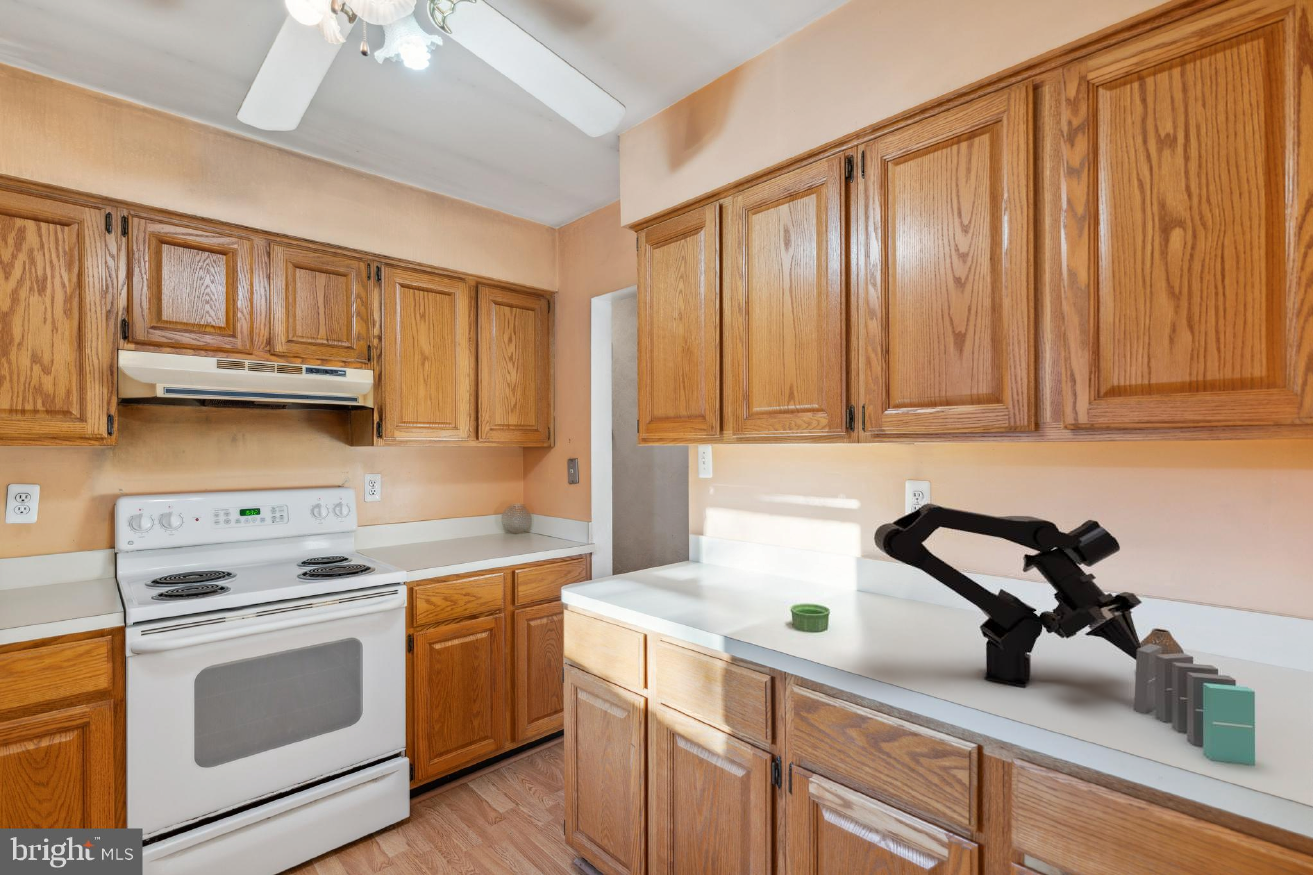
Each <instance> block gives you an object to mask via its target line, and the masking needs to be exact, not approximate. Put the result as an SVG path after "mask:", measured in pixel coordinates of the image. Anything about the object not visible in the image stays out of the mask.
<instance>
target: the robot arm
mask: <svg viewBox="0 0 1313 875" xmlns="http://www.w3.org/2000/svg"><path fill="white" fill-rule="evenodd" d="M940 528H945V529H951V530H956V531H962V532H966V533H971V534H972V533H973V534H978V535H983V536H988V537H993V538H998V539H1002V540H1006V541H1009V542H1011V543H1014V544H1018V545H1020V546H1023V547H1026V548H1028V549H1031V550H1033V551H1037V553H1034V554H1028V553H1026V554H1025V553H1024V555H1023V557H1022V558H1023V559H1022V560H1023V567H1022V572H1024V573H1028V572H1029V571H1031V570H1032V569H1036V570H1037V571H1038V572H1039V573H1040V574H1041V575H1042V577H1043V578H1044V579H1045V580H1046V582H1048V583H1049V584H1050V585H1051V586H1052V588H1053V589H1054V590H1055V591H1056V592H1055V593H1054V594H1053V596H1054V599H1055V600H1056V602H1057V603H1058V604H1057V605H1056V607H1055V608H1053V609H1052V611H1048V610H1045V611H1041V613H1040V614H1039V615H1038V614H1037V613H1036V611H1037V608H1035V607H1033V606H1031V605H1029V604H1027V603H1026V602H1024V601H1022V600H1021V599H1020V598H1019V597H1017V596H1016V595H1013V594H1012V593H1010V592H1008V591H1007V590H1005V589H1002V588H1000V589H999V591H998V594H997V593H994V592H992V591H989V589H987V588H985V587H984V586H982V585H980V584H979V583H978V582H976V581H975V580H973V579H972V578H970V577H968V576H967V575H965V574H964V573H962V572H960V571H959V570H958V569H956V568H955V567H953V566H951V565H950V564H948V563H947V562H945V561H944V560H943V559H941V558H939V557H938V556H936V555H934V554H933V553H932V552H931V551H930V550H929V549H928V548H927V546H926V545H924V544H923V543H924V542H926V540H928V538H929V537H930V536H932V534H933V533H934V532H936V530H938V529H940ZM873 538H874V539H873V540H874V543H875V547H877V548H878V549H879V550H880V551H882V552H883V553H884V554H885V555H887V556H889V557H890V558H891V559H894V560H896V561H899V562H901V563H904V564H905V565H907V566H911V567H913V568H916V569H918V570H921V571H922V572H924V573H926V574H927V575H929V577H932V578H933V579H935V580H937V581H938V582H939V583H941V584H942V585H944V586H946V587H947V588H949V589H950V590H952V591H953V592H955V593H956V594H957V595H959V596H961V597H962V598H963V599H966V600H967V601H968V602H970V603H972V604H973V605H975V606H976V607H977V608H978V609H979V610H980V611H981V612H982V613H983V614H984V615H985V616H986V617H987V619H986V620H985V621H984V622H983V623H982V624H980V626H979V629H980V631H981V634H982V637H984V638H986V640H987V641H986V643H985V652H986V653H985V658H986V659H985V660H986V661H985V664H986V665H985V666H986V667H985V668H986V669H985V674H984V679H985V680H987V681H991V682H992V681H993V682H997V683H1001V684H1002V683H1003V684H1007V685H1013V686H1017V687H1022V688H1026V687H1027V683H1028V682H1030V681H1031V677H1032V665H1031V663H1032V662H1031V661H1032V658H1031V657H1032V656H1031V653H1032V652H1033V650H1034V647H1035V644H1036V642H1037V639H1038V638H1039V637H1040V636H1041V635H1042V632H1043V628H1045V630H1046V631H1045V632H1047V633H1048V634H1051V633H1054V634H1056V635H1057V636H1059V637H1060V638H1061V639H1065V638H1066V639H1070V638H1072V637H1075V636H1076V635H1077V633H1079V632H1081V631H1082V630H1084V629H1085V628H1087V627H1088V628H1089V630H1088V632H1086V633H1084V635H1085V636H1088V637H1089V636H1092V637H1098V638H1100V639H1101V638H1102V639H1104V640H1106V641H1107V642H1109V643H1111V644H1112V645H1113V646H1114V647H1116V648H1118V649H1119V650H1121V651H1122V652H1123V653H1125V654H1126V655H1127V656H1129V657H1131V658H1132V659H1133V660H1135V661H1136V658H1137V649H1139V648H1141V644H1140V643H1141V641H1140V639H1139V636H1138V634H1137V631H1136V627H1135V623H1134V621H1133V618H1132V613H1133V612H1132V609H1134V608H1136V607H1138V606H1140V604H1142V603H1143V602H1142V601H1141V600H1140V598H1138V597H1137V596H1136V594H1135V593H1134V592H1128V591H1123V592H1120V593H1117V594H1115V595H1113V594H1112V593H1111V592H1110V593H1107V594H1106V593H1105V592H1104V591H1103V590H1102V589H1101V587H1099V586H1098V585H1097V584H1096V583H1095V581H1094V580H1095V579H1097V577H1096V576H1095V575H1094V574H1093V573H1088V574H1087V573H1086V572H1085V571H1084V570H1083V569H1082V568H1081V567H1080V566H1081V565H1084V566H1085V567H1093V566H1094V565H1096V564H1098V563H1099V562H1101V561H1103V560H1106V559H1107V558H1109V557H1111V556H1112V555H1115V553H1117V552H1119V551H1120V550H1121V546H1120V543H1119V541H1118V540H1117V539H1116V537H1115V536H1114V535H1112V534H1111V533H1110V532H1109V531H1108V530H1106V529H1105V528H1104V527H1103V526H1101V525H1100V524H1099V522H1098V521H1097V520H1093V519H1088V520H1086V521H1084V522H1083V523H1082V524H1081V525H1079V526H1078V527H1075V528H1074V529H1072V530H1070V531H1069V532H1063V531H1060V529H1059V528H1058V526H1057V525H1056V524H1055V523H1054V522H1053V521H1049V520H1046V519H1042V518H1039V517H1034V516H1032V515H1031V516H1029V515H1009V516H1008V515H1007V516H1006V515H1005V516H994V515H990V514H983V513H979V512H972V511H968V510H962V509H956V508H952V507H951V508H950V507H944V506H940V505H937V504H934V503H925V504H923V505H922V506H920V507H919V508H917V509H916V510H914V511H911V512H910V513H908V514H906V515H904V516H901V517H899V518H897V519H896V520H894V521H893V522H888V523H884V524H881V525H880V526H879V527H878V528H876V530H875V532H874V536H873Z"/></svg>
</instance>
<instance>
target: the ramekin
mask: <svg viewBox="0 0 1313 875" xmlns="http://www.w3.org/2000/svg"><path fill="white" fill-rule="evenodd" d="M790 612H791V621H792V626H793V628H794V629H796V630H798V631H800V632H801V631H802V632H807V633H821V632H825V631H827V630H828V628H829V620H830V619H829V618H830V614H831V610H830V608H829V607H827V606H825V605H821V604H816V603H798V604H794V605H792V606H791V607H790Z"/></svg>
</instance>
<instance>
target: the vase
mask: <svg viewBox="0 0 1313 875" xmlns="http://www.w3.org/2000/svg"><path fill="white" fill-rule="evenodd" d="M1140 644H1141V647H1143V646H1145V645H1148V644H1153V645H1157V646H1161V647H1162V651H1161V655H1162V654H1178V653H1184V654H1185V652H1184V649H1183V648H1182V646H1181V645H1180V644H1179V642H1178V641H1177V640H1176V639H1175V638H1174V637H1173V636H1172V634H1171V631H1169V630H1168V629H1167V630H1166V629H1162V628H1157V627H1156V628H1152V630H1151V632H1150V633H1149V634H1148V635H1146V637H1144V638H1143V639H1142V640H1141V641H1140Z"/></svg>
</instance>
